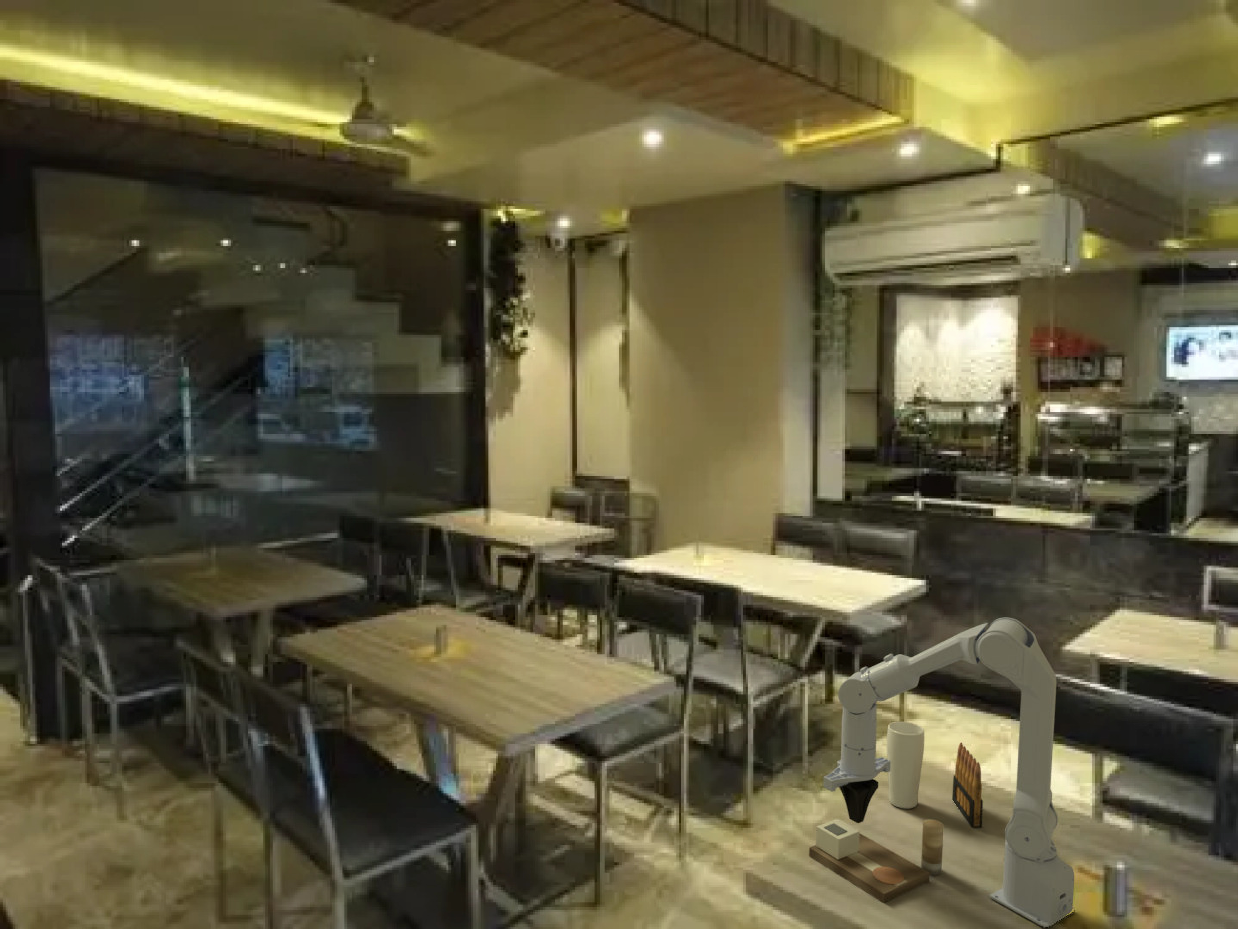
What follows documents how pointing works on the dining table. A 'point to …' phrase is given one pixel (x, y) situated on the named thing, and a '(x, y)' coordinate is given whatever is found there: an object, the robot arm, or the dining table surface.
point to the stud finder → (837, 838)
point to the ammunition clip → (968, 787)
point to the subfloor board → (875, 869)
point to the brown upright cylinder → (932, 847)
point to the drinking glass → (904, 762)
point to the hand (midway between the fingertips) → (856, 820)
